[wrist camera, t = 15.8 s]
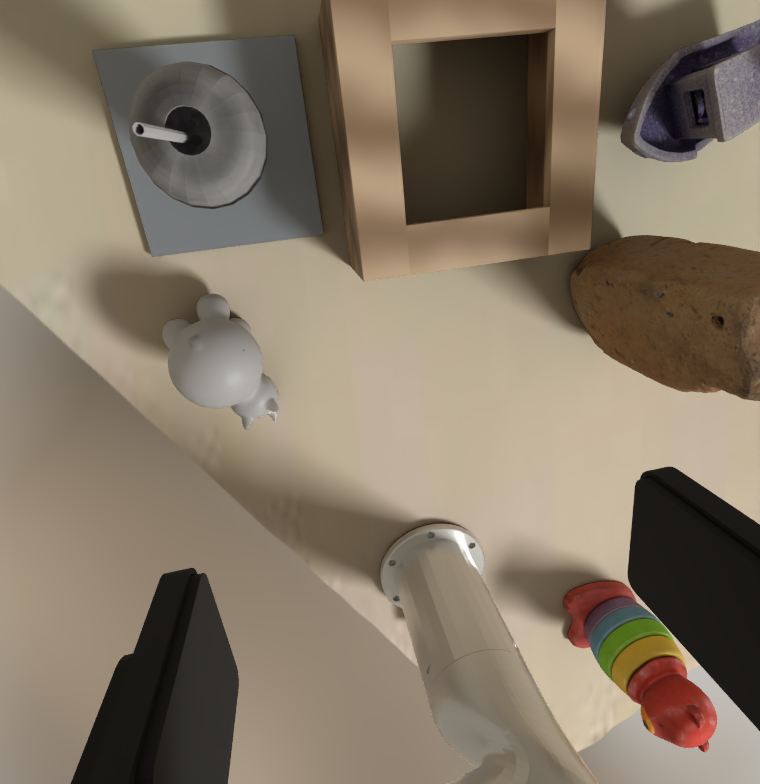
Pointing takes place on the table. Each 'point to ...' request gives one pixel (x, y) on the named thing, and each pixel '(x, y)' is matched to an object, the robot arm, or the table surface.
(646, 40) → the table surface
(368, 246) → the box
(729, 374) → the block
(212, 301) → the chubby cartoon animal
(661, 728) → the stacking bear
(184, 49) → the mat
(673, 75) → the toy boat
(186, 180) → the beverage cup
